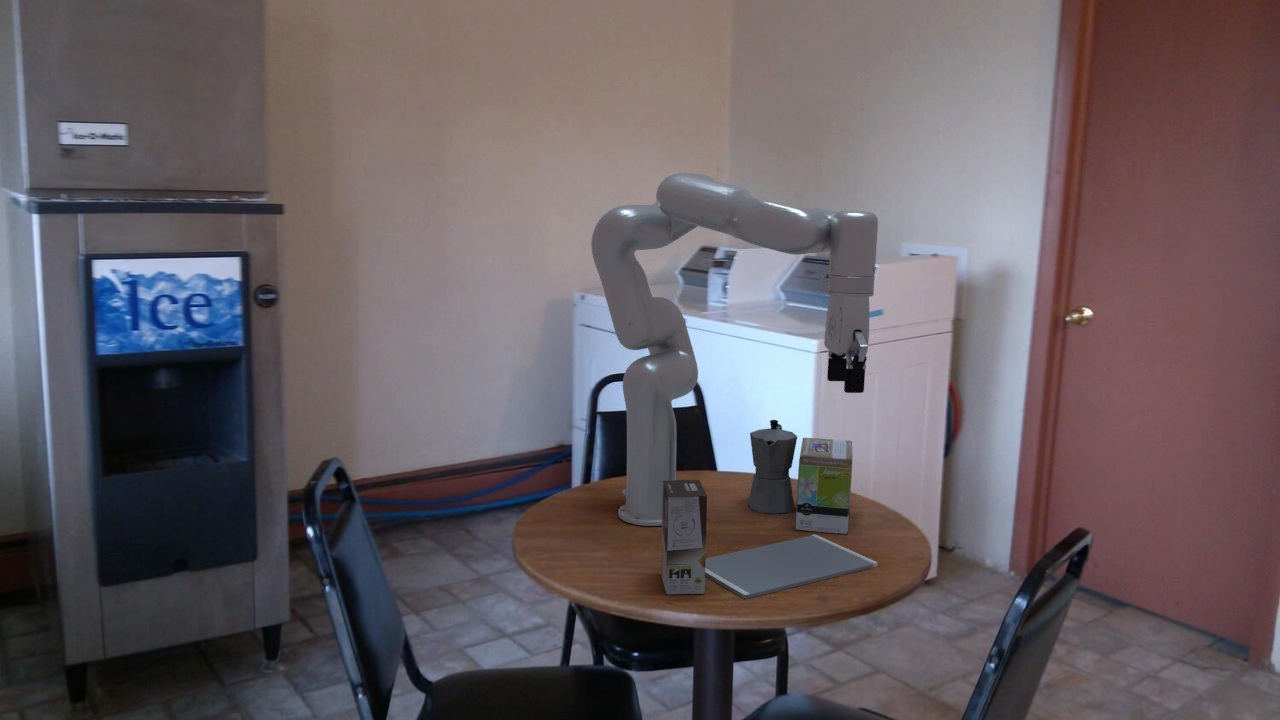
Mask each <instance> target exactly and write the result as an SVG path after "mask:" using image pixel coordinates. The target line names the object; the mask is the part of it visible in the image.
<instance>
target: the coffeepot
mask: <svg viewBox="0 0 1280 720" xmlns="http://www.w3.org/2000/svg"><path fill="white" fill-rule="evenodd" d="M769 425H770V428H762V429H758V430H757V429H756V430H755V431H751V432H750V433H749V437H750V443H751V445H750V446H751V451H752V452H751V454H752V462H753V466H754V467H755V474H754V475H753V479H752V482H751V489H750V493H749V498H748V503H747V505H748V506H749V509H751V510H753V511H754V512H756V513H761V514H766V513H767V515H769V514H770V515H780V514H779V513H783V514H787V513H789V511H790V510H791V511H793V509H795V504H794V496H793V488H792V480H791V477H790V469H792V468H793V467H792V466H793V461H794V456H795V451H796V447H797V446H796V445H797V440H798V435H796V434H795V433H794V432H793V431H789V430H785V429H783V426H782V424H780V423H779V420H777V419H771V420H769ZM791 511H790V512H791ZM786 512H787V513H786Z"/></svg>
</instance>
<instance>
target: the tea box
mask: <svg viewBox="0 0 1280 720" xmlns="http://www.w3.org/2000/svg"><path fill="white" fill-rule="evenodd" d="M798 460H799V461H798V472H797V473H798V474H797V492H796V505H795V506H796V507H795V508H796V512H795V530H797V531H805V532H814V533H815V532H817V533H827V534H828V533H829V534H838V533H839V535H840V534H841V535H847V534H848V530H849V521H850V520H849V518H850V517H849V516H850V505H851V504H850V503H851V493H852V491H851V490H852V478H853V477H852V475H853V442H852V440H845V439H834V438H833V439H831V438H817V437H802V441H801V447H800V452H799V459H798Z"/></svg>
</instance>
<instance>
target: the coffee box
mask: <svg viewBox="0 0 1280 720" xmlns="http://www.w3.org/2000/svg"><path fill="white" fill-rule="evenodd" d="M707 511H708V495H707V493H706V491H705V489H704V487H703V485H702V483H701V481H700V480H699V479H676V480H674V481H663V489H662V526H661V570H660V571H661V572H660V573H661V579H662V583H663V585H664V586H663V587H664V590H665V594H666V595H702V594H704V593H705V592H706V591H705V590H706V589H705V588H706V576H705V561H706V558H707V521H708V520H707V517H708V516H707V513H708V512H707Z"/></svg>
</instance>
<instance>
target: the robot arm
mask: <svg viewBox="0 0 1280 720" xmlns="http://www.w3.org/2000/svg"><path fill="white" fill-rule="evenodd" d="M655 197H656V202H655V203H653V204H625V205H620V206H616V207H613V208H611V209H610V210H608V211H606V212H605V213H604V214H602V216H601V217H600V219H599V220H598V221H597V223H596V225H595V226H594V230H593V232H592V236H591V245H590V246H591V255H592V259H593V261H594V265H595V268H596V270H597V273H598V277H599V279H600V281H601V285H602V288H603V293H604V296H605V300H606V303H607V307H608V308H607V309H608V311H609V314H610V315H609V316H610V318H611V322H612V325H613V329H614V332H615V336H616V338H617V340H618V341H619V343H620V345H621V346H622V347H623V348H625V349H627V350H631V351H641V350H645V349H647V350H648V352H649V354H648V355H646V356H645V355H644V356H642V357H640V358H637V359H636V360H634V361H633V362H632V363H630V364H629V365H628V366H627V368H626V370H625V372H624V374H623V378H622V392H623V399H624V403H625V413H626V488H623V489H622V490H621V495H622V496H624V497H625V504H623V505H621V506H620V507H619V508H618V513H617V514H618V517H619V518H620V520H622V521H623V522H625V523H628V524H632V525H636V526H644V527H659V526H660V527H662V489H663V481H674V480H677V443H678V442H677V419H676V416H675V415H676V414H675V412H674V409H673V403H672V401H674V400H677V399H678V398H682V397H685V396H686V395H689V394H690V393H691V392H692V391H693V390H694V388H695V387H696V385H697V383H698V378H699V377H698V376H699V370H698V369H699V368H698V363H697V358H696V356H695V352H694V348H693V345H692V342H691V341H692V340H691V337H690V334H689V331H688V328H687V324H686V321H685V318H684V315H683V313H682V311H681V310H680V308H679V307H678V306H677V304H676V303H674V302H673V301H672V300H671V299H669V298H666V297H662V296H654V297H653V295H652V291H651V289H650V287H649V282H648V278H647V275H646V272H645V270H644V268H643V266H642V265H641V264H640V262H639V261H638V259H637V258H636V256H635V253H636V252H637V251H645V250H646V251H647V250H655V249H656V250H657V249H662V248H664V247H667V246H669V245H670V244H672V243H674V242H675V241H678V240H679V239H680V238H682V237H683V236H685V235H686V234H688V233H690V232H691V231H693V230H695V229H696V228H697V227H701V228H704V229H707V230H711V231H714V232H715V231H716V232H719V233H722V234H726V235H727V236H728V235H729V236H731V237H733V238H735V239H738V240H741V241H743V242H746V243H749V244H750V245H751V244H752V245H755V246H757V247H762V248H765V249H769V250H773V251H777V252H781V253H782V254H783V253H784V254H789V255H796V256H797V255H805V254H817V253H825V252H829V261H828V264H829V267H828V277H827V278H828V280H827V281H828V282H827V295H829V299H828V305H827V311H826V321H825V332H824V340H823V341H824V343H823V344H824V345H823V346H824V348H825V349H827V350H829V351H828V354H827V355H828V358H827V359H828V361H827V362H828V363H827V376H826V377H827V378H826V380H827V381H828V382H844V386H843V387H844V388H843V392H845V393H847V394H861V393H862V394H863V393H864V392H865V376H866V369H867V364H866V363H867V362H866V361H867V360H868V358H867V353H868V349H869V348H868V347H869V340H870V338H869V337H870V297H873V296H874V292H875V278H876V275H875V274H876V259H877V246H878V244H877V243H878V230H879V220H878V217H877V215H876V214H875V213H874V212H870V211H862V210H861V211H857V210H847V211H846V210H842V211H835V210H830V209H824V208H809V207H808V208H806V207H805V208H795V207H791V206H787V205H783V204H782V205H781V204H778V203H774V202H770V201H766V200H763V199H760V198H757V197H755V196H753V195H751V194H750V192H749V190H748V189H747V188H744V187H742V186H736V185H733V184H729V183H724V182H720V181H716V180H715V179H714V178H712V177H710V176H708V175H707V174H706V175H705V174H702V173H689V172H687V173H686V172H683V173H682V172H681V173H680V172H679V173H673V174H670V175H668V176H667V177H665V178H664V179H663V180H662V181H661V182H660V184H659V185H658V187H657V190H656V195H655Z"/></svg>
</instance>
